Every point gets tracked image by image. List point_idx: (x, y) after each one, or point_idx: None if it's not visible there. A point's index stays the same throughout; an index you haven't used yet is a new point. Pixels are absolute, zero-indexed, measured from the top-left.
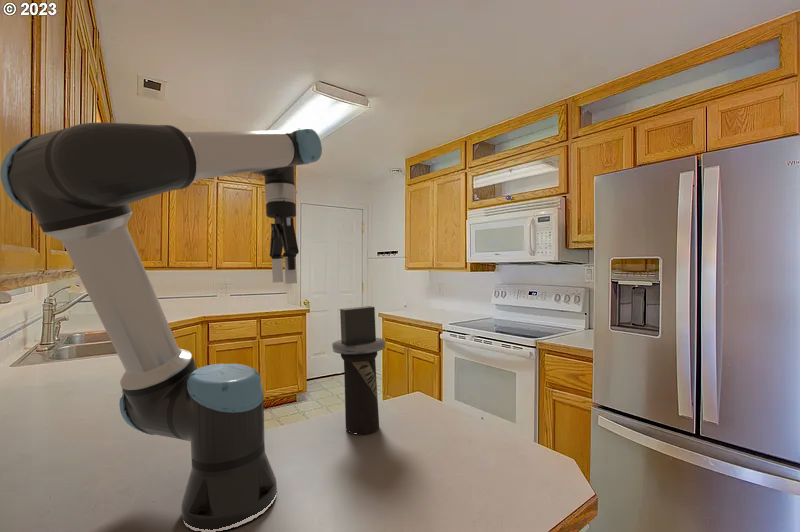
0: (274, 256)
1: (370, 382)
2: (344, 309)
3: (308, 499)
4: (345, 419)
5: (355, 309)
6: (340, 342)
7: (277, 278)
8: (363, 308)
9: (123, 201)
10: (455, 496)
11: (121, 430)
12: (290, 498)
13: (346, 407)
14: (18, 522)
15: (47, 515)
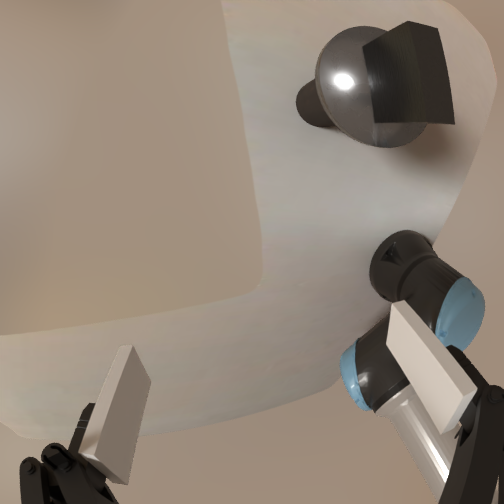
0: (102, 489)
1: None
2: (442, 117)
3: (427, 206)
4: (319, 125)
5: (449, 89)
6: (361, 120)
7: (139, 381)
8: (445, 63)
9: None
10: (467, 105)
11: (179, 377)
12: (419, 220)
13: (334, 125)
14: (331, 383)
15: (333, 374)
